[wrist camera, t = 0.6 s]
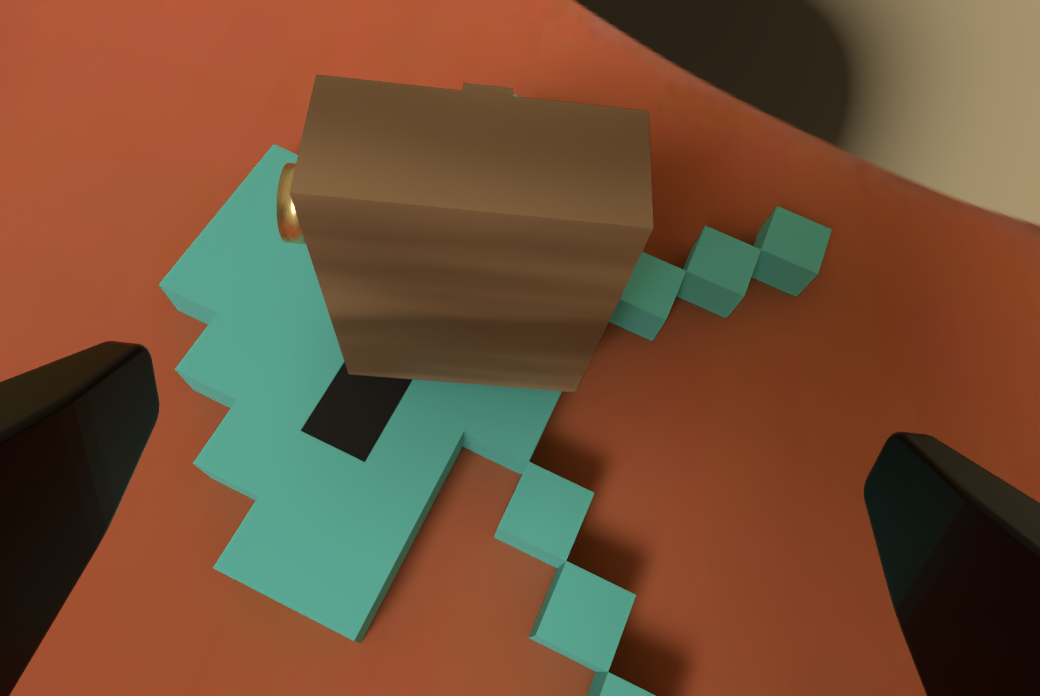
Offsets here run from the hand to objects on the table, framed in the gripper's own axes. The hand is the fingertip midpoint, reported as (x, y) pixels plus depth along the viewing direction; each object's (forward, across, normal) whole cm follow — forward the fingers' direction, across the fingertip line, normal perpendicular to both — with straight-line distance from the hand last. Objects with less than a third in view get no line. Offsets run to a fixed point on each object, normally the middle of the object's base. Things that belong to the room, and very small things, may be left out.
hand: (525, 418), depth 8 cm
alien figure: (+15, +1, +9) cm, 17 cm away
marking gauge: (+14, +2, +5) cm, 15 cm away
